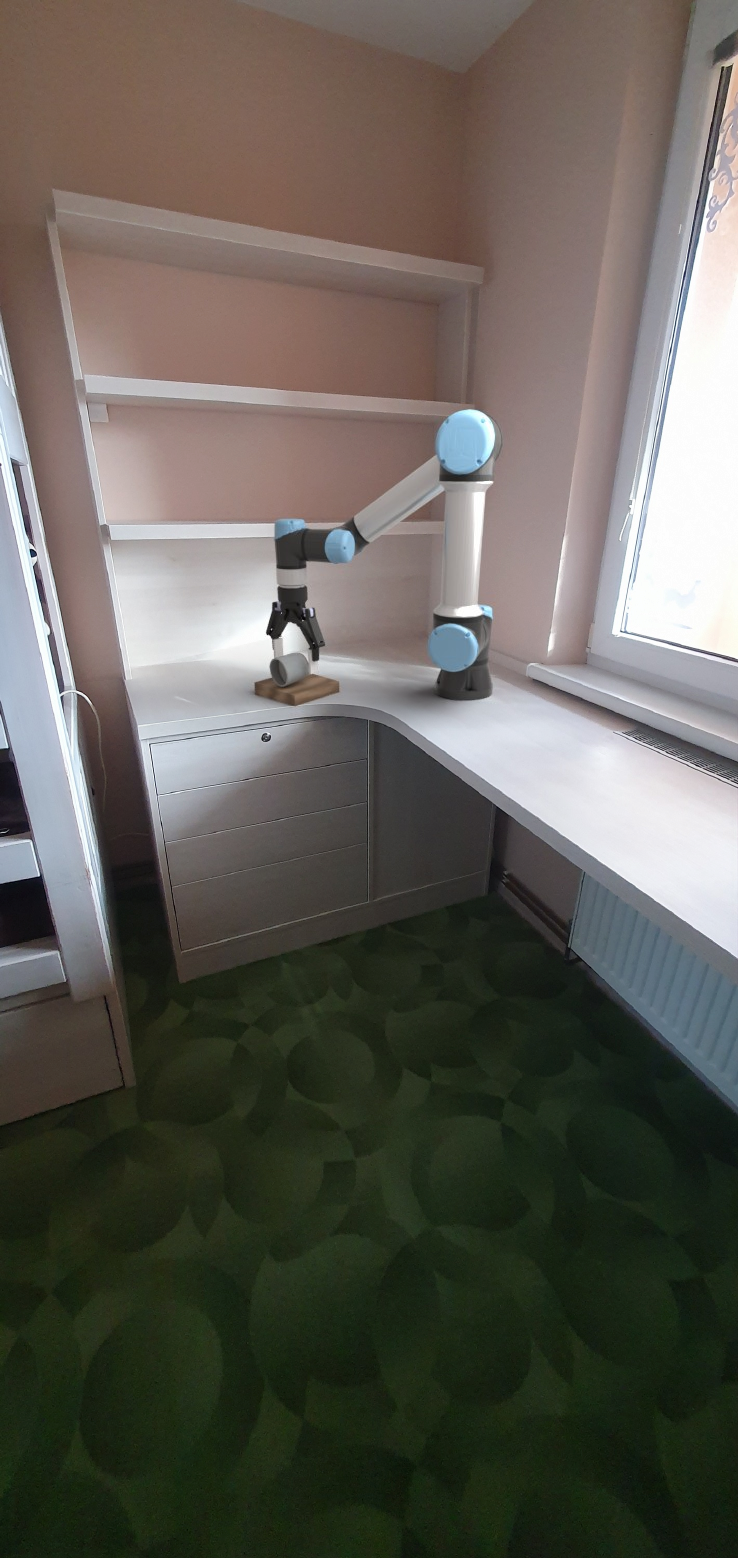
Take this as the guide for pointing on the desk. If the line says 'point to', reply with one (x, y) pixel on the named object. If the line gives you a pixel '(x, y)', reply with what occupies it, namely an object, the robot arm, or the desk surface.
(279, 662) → the ceramic mug
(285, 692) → the walnut block
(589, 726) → the desk surface
